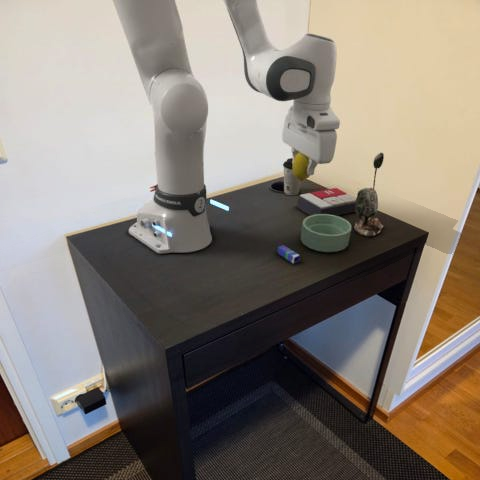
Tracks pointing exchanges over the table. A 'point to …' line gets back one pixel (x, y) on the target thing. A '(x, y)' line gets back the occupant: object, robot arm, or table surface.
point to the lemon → (300, 166)
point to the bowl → (325, 232)
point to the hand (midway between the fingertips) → (302, 170)
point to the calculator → (327, 202)
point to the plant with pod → (368, 206)
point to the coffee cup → (290, 179)
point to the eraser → (288, 254)
